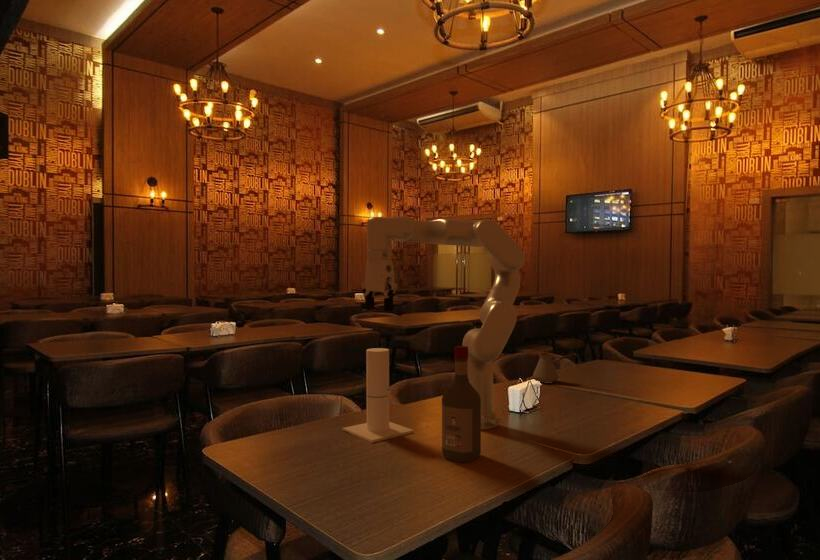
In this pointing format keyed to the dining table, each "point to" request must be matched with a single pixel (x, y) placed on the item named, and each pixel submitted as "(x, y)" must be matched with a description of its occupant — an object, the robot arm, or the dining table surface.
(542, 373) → the coffee pot
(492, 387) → the robot arm
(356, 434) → the mat
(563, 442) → the dining table surface
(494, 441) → the dining table surface
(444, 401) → the liquor
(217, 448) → the dining table surface
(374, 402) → the cylindrical container
